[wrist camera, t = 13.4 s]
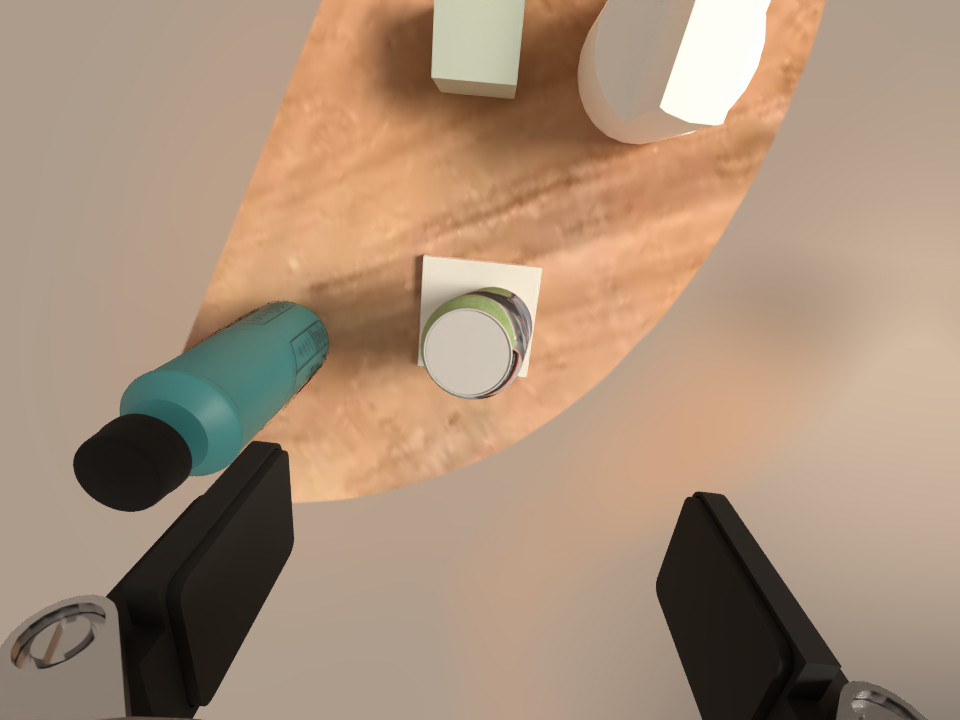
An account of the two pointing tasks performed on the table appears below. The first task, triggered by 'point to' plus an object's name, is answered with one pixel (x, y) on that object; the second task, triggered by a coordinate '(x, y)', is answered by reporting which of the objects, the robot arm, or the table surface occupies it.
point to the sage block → (477, 46)
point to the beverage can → (477, 342)
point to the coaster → (476, 286)
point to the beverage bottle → (201, 407)
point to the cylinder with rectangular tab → (668, 65)
